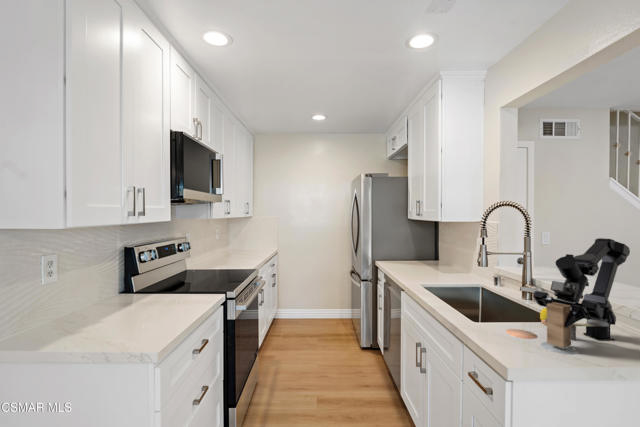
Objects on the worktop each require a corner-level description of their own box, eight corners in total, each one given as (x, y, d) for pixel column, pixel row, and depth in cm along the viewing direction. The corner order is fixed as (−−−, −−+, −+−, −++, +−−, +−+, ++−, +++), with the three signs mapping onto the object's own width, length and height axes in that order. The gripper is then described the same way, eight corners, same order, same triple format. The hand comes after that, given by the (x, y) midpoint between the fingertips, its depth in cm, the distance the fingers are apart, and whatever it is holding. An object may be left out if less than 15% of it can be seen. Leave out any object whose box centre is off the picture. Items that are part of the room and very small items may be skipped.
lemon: (559, 329, 126) (559, 309, 127) (544, 328, 128) (543, 308, 128) (552, 324, 132) (552, 305, 132) (537, 323, 133) (537, 304, 133)
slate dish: (561, 345, 110) (561, 341, 110) (586, 357, 100) (586, 354, 100) (533, 345, 110) (533, 342, 110) (556, 358, 100) (556, 354, 100)
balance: (607, 346, 109) (607, 321, 110) (610, 352, 105) (610, 326, 105) (541, 334, 121) (541, 311, 121) (540, 339, 116) (540, 315, 116)
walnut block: (554, 340, 109) (554, 302, 109) (571, 345, 104) (570, 305, 104) (547, 342, 106) (546, 303, 106) (563, 347, 102) (563, 307, 102)
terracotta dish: (525, 332, 123) (525, 328, 123) (544, 342, 113) (544, 338, 113) (500, 332, 123) (500, 329, 123) (516, 342, 113) (516, 338, 113)
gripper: (535, 268, 116) (517, 302, 110) (598, 277, 99) (581, 317, 94) (547, 287, 119) (530, 321, 114) (610, 299, 103) (594, 339, 97)
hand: (556, 324), depth 105 cm, fingers closed on walnut block, 5 cm apart
